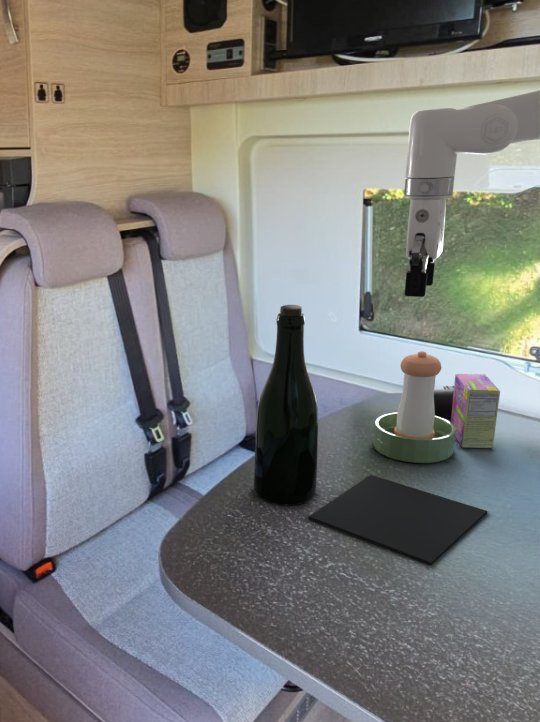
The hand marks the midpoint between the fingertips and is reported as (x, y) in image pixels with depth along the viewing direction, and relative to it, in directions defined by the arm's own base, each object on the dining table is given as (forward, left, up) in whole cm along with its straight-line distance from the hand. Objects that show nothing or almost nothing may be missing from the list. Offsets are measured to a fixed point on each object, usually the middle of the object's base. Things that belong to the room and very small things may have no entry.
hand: (418, 290), depth 126 cm
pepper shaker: (0, -4, -31) cm, 32 cm away
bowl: (0, -4, -32) cm, 32 cm away
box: (-6, -16, -32) cm, 36 cm away
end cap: (+3, -22, -32) cm, 39 cm away
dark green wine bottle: (+8, +27, -32) cm, 43 cm away
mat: (-10, +22, -32) cm, 40 cm away
